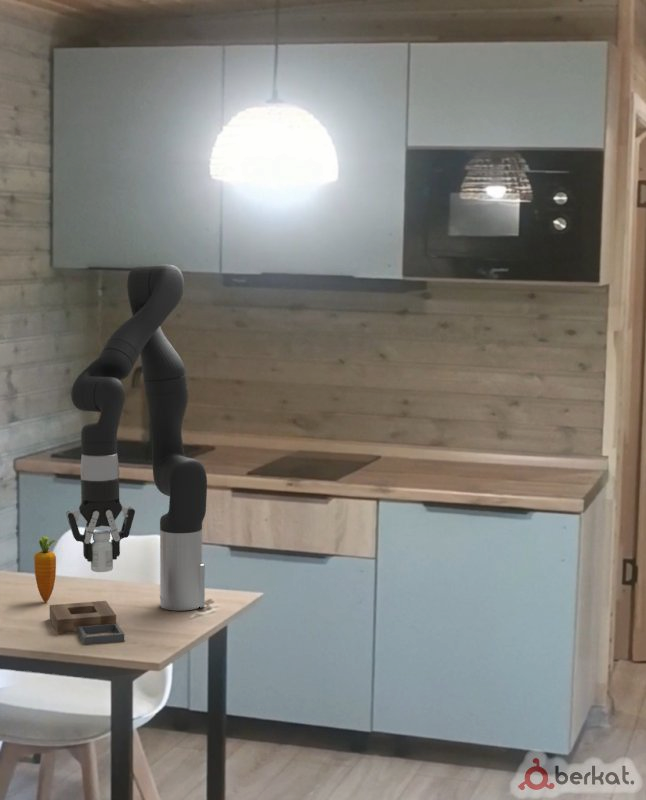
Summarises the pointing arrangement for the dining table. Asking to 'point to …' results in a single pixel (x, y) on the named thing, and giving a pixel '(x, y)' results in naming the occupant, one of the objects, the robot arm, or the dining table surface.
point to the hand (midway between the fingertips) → (101, 559)
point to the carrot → (45, 569)
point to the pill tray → (101, 638)
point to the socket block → (80, 615)
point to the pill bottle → (102, 552)
